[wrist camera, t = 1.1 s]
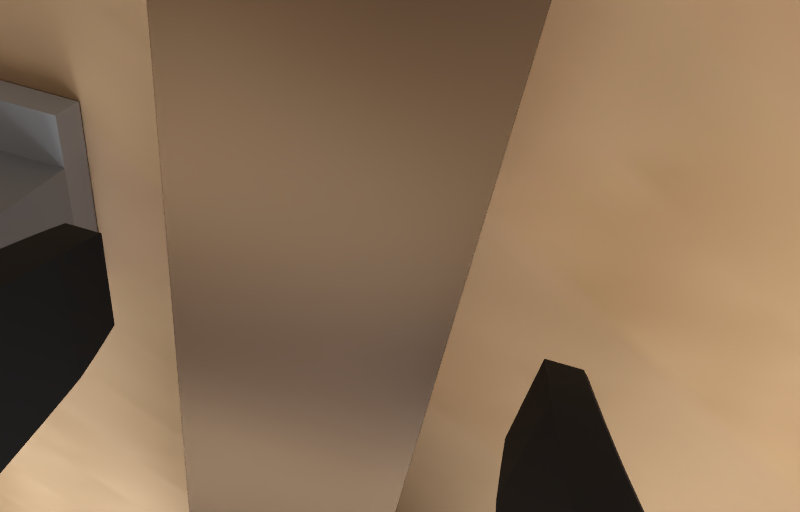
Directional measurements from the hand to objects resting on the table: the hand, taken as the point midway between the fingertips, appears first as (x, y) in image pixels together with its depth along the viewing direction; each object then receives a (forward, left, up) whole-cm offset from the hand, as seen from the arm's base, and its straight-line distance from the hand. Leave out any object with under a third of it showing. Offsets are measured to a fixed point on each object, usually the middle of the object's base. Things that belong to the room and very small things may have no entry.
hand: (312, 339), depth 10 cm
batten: (0, 0, -5) cm, 5 cm away
